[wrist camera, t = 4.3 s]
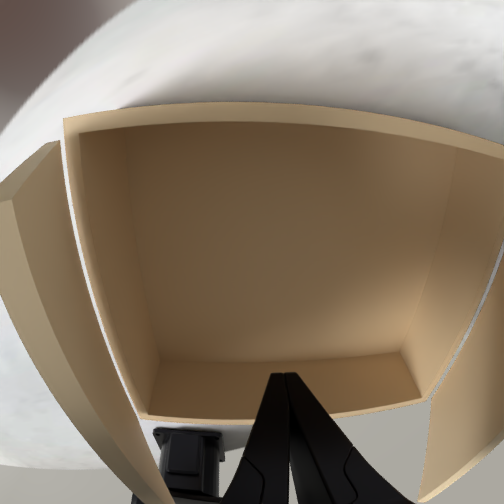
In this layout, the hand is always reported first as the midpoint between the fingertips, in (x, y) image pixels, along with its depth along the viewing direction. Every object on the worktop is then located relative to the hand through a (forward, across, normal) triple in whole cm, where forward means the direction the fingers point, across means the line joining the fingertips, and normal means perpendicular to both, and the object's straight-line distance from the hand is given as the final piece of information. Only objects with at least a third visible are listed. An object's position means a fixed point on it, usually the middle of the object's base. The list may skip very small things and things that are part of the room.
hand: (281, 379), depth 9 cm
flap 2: (-1, -9, 0) cm, 9 cm away
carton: (+8, -2, 0) cm, 8 cm away
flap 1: (-1, +5, 0) cm, 5 cm away
